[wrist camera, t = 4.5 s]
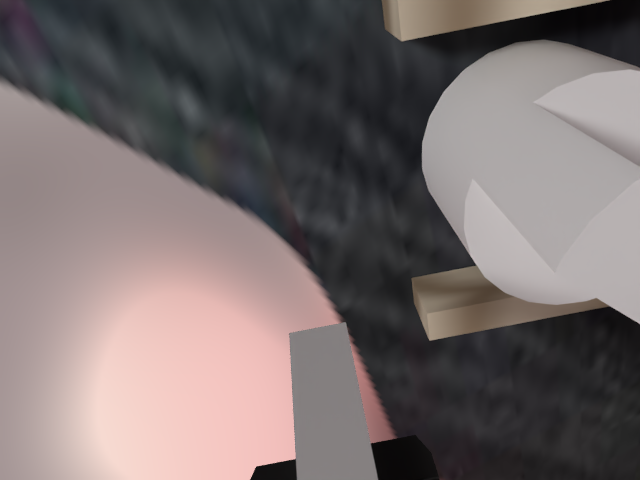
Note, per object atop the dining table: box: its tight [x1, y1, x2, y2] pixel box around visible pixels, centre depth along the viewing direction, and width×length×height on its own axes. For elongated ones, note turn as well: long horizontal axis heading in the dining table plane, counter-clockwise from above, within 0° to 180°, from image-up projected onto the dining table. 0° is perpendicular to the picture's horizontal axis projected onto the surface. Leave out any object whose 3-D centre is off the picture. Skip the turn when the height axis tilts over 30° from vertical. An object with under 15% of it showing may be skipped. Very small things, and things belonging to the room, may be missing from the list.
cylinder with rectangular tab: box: [422, 39, 640, 324], centre depth 19 cm, size 9×9×12 cm
